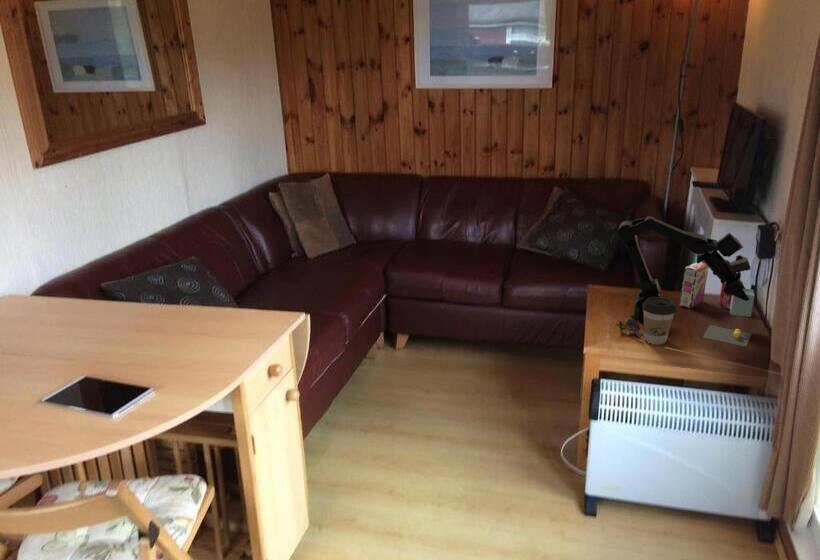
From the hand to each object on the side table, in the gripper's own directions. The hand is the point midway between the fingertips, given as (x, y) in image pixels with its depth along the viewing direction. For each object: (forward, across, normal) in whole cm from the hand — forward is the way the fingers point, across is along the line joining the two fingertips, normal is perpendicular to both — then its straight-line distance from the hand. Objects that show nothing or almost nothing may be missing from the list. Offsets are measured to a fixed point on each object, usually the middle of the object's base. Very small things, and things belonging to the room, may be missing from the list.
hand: (747, 296), depth 230 cm
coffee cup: (-11, -18, +30) cm, 37 cm away
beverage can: (+7, +23, +12) cm, 27 cm away
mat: (+6, -7, +13) cm, 16 cm away
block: (+3, 0, +5) cm, 6 cm away
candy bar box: (-2, +22, +21) cm, 30 cm away
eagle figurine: (-16, -16, +36) cm, 43 cm away
